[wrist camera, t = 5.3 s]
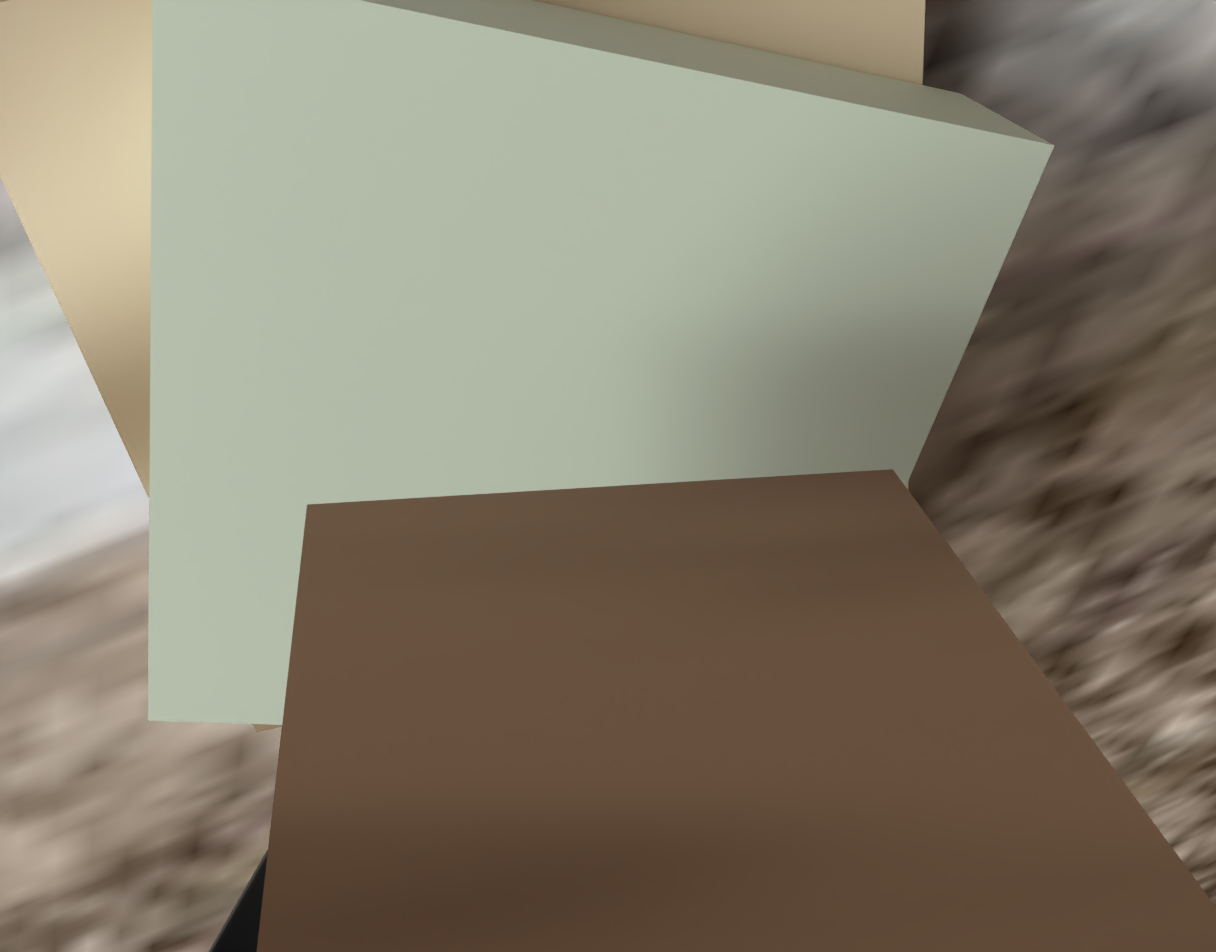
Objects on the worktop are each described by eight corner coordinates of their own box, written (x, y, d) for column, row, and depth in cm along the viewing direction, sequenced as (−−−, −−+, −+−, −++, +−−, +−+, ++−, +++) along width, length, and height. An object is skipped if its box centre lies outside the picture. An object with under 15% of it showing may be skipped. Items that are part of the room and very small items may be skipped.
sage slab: (751, 641, 20) (793, 741, 18) (176, 607, 17) (147, 720, 15) (960, 94, 15) (1054, 145, 13) (192, -75, 12) (152, -44, 10)
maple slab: (856, 513, 22) (904, 590, 20) (269, 638, 21) (256, 731, 19) (856, -164, 15) (930, -156, 13) (-7, -20, 14) (-75, 14, 12)
